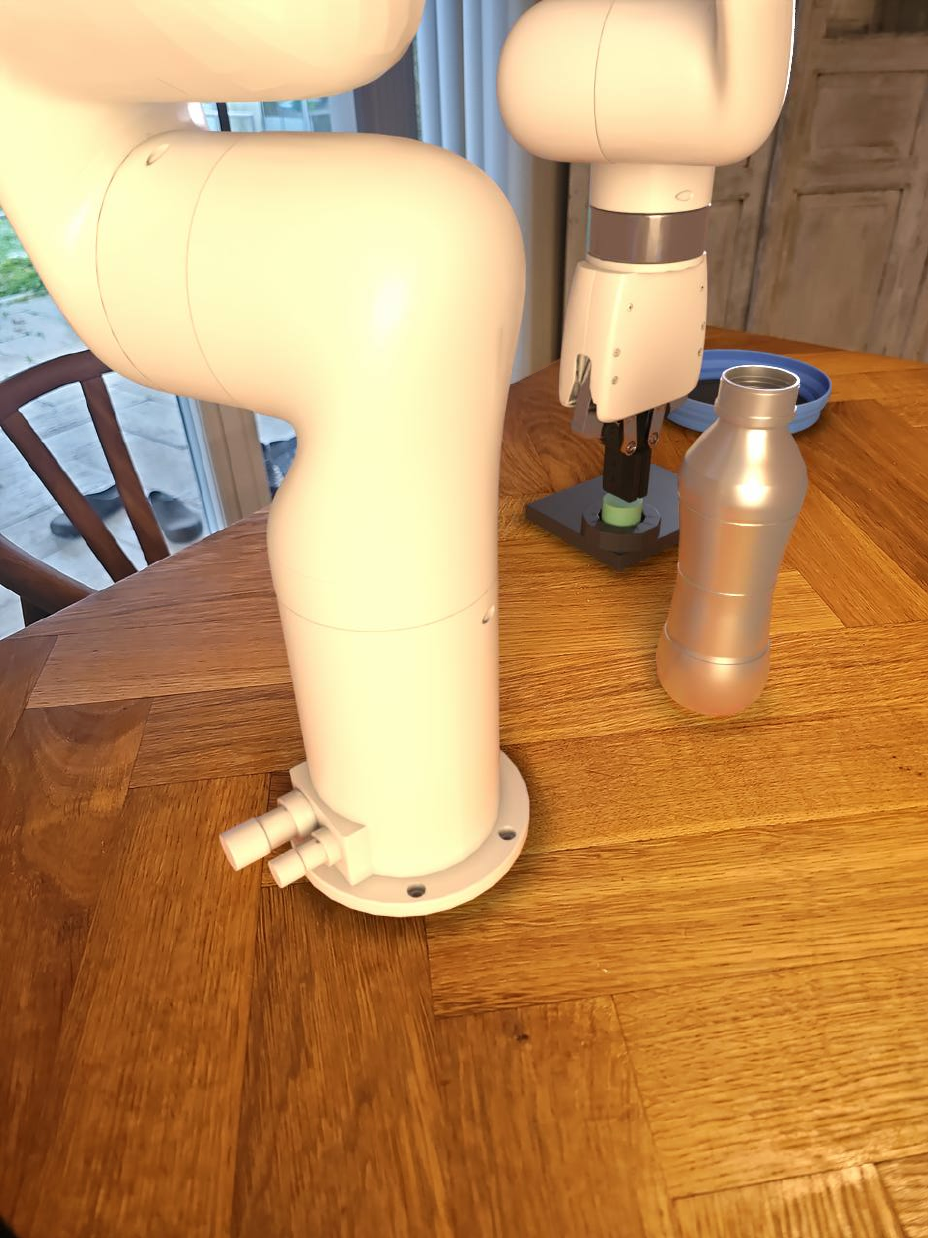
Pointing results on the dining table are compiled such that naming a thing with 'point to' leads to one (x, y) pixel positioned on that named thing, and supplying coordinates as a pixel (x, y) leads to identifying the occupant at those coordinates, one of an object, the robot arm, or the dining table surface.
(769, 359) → the bowl
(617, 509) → the button
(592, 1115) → the dining table surface
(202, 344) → the robot arm
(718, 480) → the silver metal bottle
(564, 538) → the scale
